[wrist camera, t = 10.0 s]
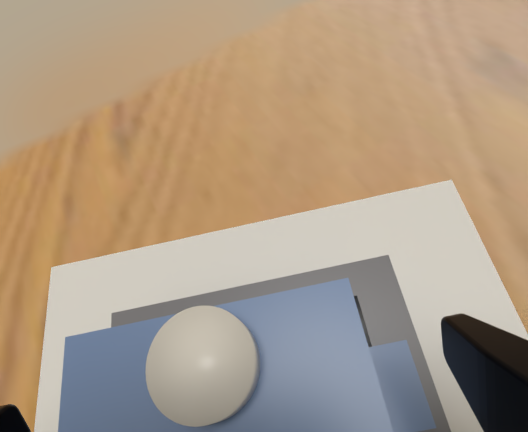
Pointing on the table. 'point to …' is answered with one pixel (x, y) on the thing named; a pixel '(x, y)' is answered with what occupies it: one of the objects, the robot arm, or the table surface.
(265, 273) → the plate
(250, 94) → the table surface
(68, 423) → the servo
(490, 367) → the robot arm
